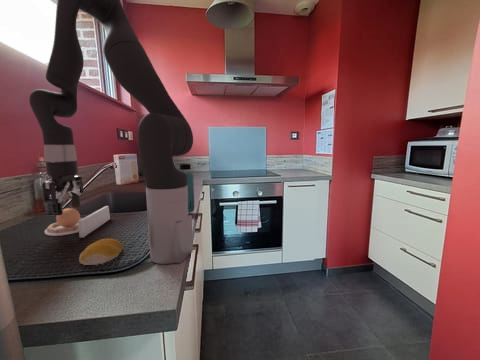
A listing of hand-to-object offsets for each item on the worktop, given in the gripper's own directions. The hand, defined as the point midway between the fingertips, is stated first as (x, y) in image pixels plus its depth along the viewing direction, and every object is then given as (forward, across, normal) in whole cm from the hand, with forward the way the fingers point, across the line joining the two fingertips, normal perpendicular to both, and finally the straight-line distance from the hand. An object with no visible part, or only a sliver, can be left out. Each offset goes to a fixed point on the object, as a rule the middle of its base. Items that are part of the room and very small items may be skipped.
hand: (67, 210), depth 68 cm
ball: (+2, 0, 0) cm, 2 cm away
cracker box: (+6, -87, -16) cm, 89 cm away
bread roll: (+7, +20, +20) cm, 29 cm away
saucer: (+6, 0, 0) cm, 6 cm away
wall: (+6, 0, +8) cm, 10 cm away
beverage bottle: (+6, -11, +35) cm, 38 cm away
